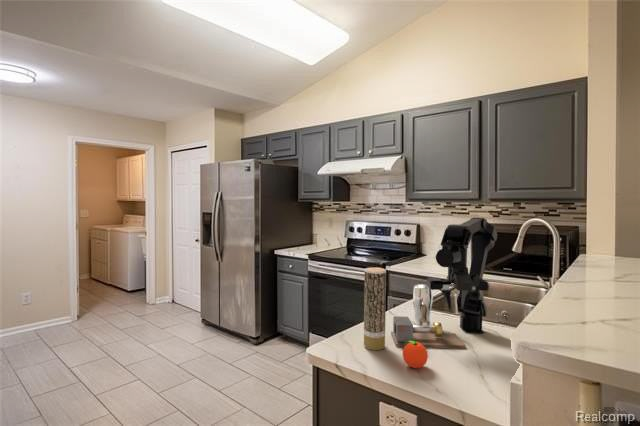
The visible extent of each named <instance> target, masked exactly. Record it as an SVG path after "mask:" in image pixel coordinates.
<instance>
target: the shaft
mask: <svg viewBox="0 0 640 426" xmlns="http://www.w3.org/2000/svg"><path fill="white" fill-rule="evenodd" d="M413 333H433V335H434V337H442V334H443V333H444V332H443V325H442V323H441V322H433V323H432V325H431V326H416V325H414V324H413Z"/></svg>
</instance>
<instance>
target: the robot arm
mask: <svg viewBox="0 0 640 426" xmlns="http://www.w3.org/2000/svg"><path fill="white" fill-rule="evenodd" d="M497 238H498V232H497V230H496V227H495V226H494V225H493V224H491V223H489V222H488V221H487V218H484V217H474V216H473V217H471V218H470V219H469V220H467V221H465V222H463V223H460V224H454V223H453V224H448V225H447V227H446V228H445V230H444V233H443V236H442V238H441V242H440V246H441V249H439V250H437V252H436V255H435V261H436V263H437V264H438V266H440V267H442V268H447V276H446V280H442V279H441V278H439V277H427V278H426V282H425V285H427V286H428V287H429V288H430V289H432V291H433V290H434V291H436V290H437V291H440V292H441V293H442V295H443V297H444V300H445V304H446V306H447V308H448V310H451V309H452V308H451V307H452V303H451V301H452V299H451V293H452V290H451V289H450V287H452V288H453V287H454V288H455V289H456V290H457V291H459V295H458V296H457V299H456V306H457V313H461V315H460V318H459V327H460V328H461V329H462V330H463V332H465V333H467V334H472V333H473V334H477V333H478V334H484V333H485V332H484V330H483V317H485V318H486V317H487V313H488V312H487V311H488V309H487V306H486V303H485V302H484V298H485V297H484V294H483V292H484V291H486V292H488V291H490V284H489V282H488V281H487V280H485V279H483V277H484V272H485V267H486V263H487V258H488V252H490V251H491V250H492V249H493V248H494V246H495V243H496V242H497ZM471 242H472V245H473V247H474V248H473V249H474V250H473V253H472V257H471V263H470V267H469V268H468V249H469V245H470V243H471ZM482 291H483V292H482Z"/></svg>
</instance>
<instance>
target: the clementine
mask: <svg viewBox="0 0 640 426" xmlns="http://www.w3.org/2000/svg"><path fill="white" fill-rule="evenodd" d="M407 342H410V343H408V344H407V345H406V346H405V347H403V349H402V357H403V361H404V362H405V364H406V365H407V366H409V367H410V368H413V369H421V368H422V367H424V366H425V365H426V364H427V362H428V358H429V355H428V351H427V348H425V347H424V346H423V345H422V344H420V343H418V342H414V341H407ZM405 343H406V342H405ZM404 345H405V344H404Z"/></svg>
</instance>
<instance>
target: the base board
mask: <svg viewBox="0 0 640 426" xmlns="http://www.w3.org/2000/svg"><path fill="white" fill-rule="evenodd" d="M390 335H391V337H392V340H393V342H394V344H395V347H396V348H404V347H405V346H406V345H407V344H408V343H397V341H396V339H395V336H394V334H393V331H391V332H390ZM413 341H414V342H418V343H420V344H422V345H423V346H424V347H425V349H429V348H432V349H433V348H434V349H462V350H463V349H464V350H465V349H466V348H467V345H466V344H465V343H464V342H463V341H462V339H461V338H460V337H459V336H458V335H457V333H455V332H452V333H451V332H443V334H442V337H434V335H433V333H413ZM404 344H405V345H404Z"/></svg>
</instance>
